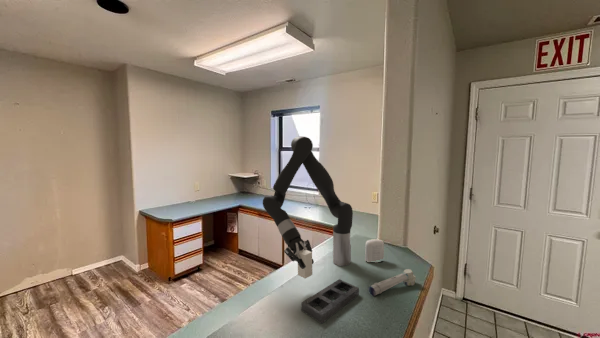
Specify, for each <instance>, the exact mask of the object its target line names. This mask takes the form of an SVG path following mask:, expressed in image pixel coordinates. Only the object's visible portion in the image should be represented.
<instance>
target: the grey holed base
mask: <svg viewBox="0 0 600 338" xmlns="http://www.w3.org/2000/svg"><path fill="white" fill-rule="evenodd" d="M341 289H342V290H341ZM344 291H346V292H344ZM329 296H330V297H331V296H332V298H333V297H334V298H333V299H335V300H331V299H329ZM358 296H360V288H359V287H357V286H355V285H353V284H351V283H349V282H346V281H344V280H342V279H341V278H340V279H338V280H336V281H334V282H333V283H331V284H329V285H327V286H326V287H325V288H323V289H321V290H319V291H318V292H316V293H315V294H313V295H311V296H309V297H308V298H306V299H305V300H303V301H302V302H301V304H300V305H301V308H300V310H301V311H302V312H303V311H304V312H303V313H305V314H306V313H307V314H306V315H307V316H309V315H310V316H309V317H311V318H312V317H313V318H312V319H313V320H315V319H316V321H317V322H319V323H320V324H323V323H324V322H326V321H327V320H328V319H330V318H331V317H332V316H334V315H335V314H336V313H337V312H339V311H340V310H342V309H343V308H344V307H346V306H347V305H349V303H351V302H352V301H353V300H354V299H355V298H357V297H358ZM317 304H318V305H317ZM319 305H320V307H321V308H322V309H321V310H318V309H316V308H315V307H316V306H319ZM314 306H315V307H314Z"/></svg>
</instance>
